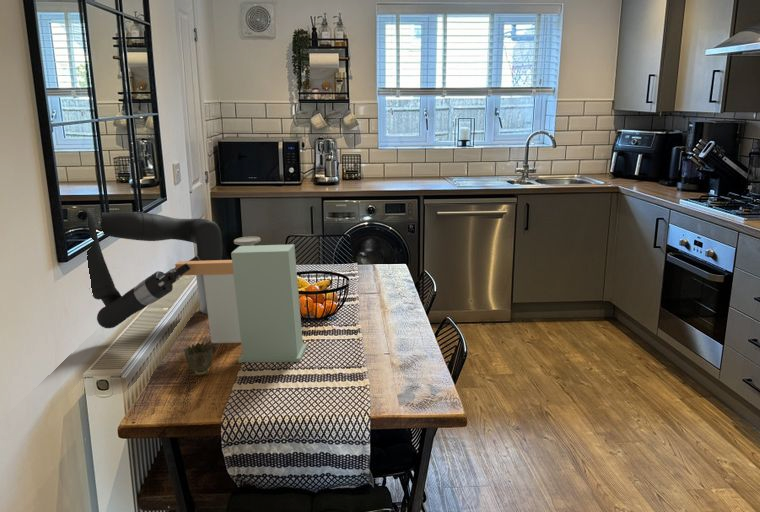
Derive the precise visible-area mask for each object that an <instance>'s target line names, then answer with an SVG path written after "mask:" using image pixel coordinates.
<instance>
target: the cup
mask: <svg viewBox="0 0 760 512" xmlns="http://www.w3.org/2000/svg"><path fill="white" fill-rule="evenodd" d="M183 351H184V355H185V359H186V362H187V366H188V367H189V369H190V370H191V371H193V372H194V375H195V376H196V377H204V376H206V375H208V374H209V369H210V368H211V366H212V364H213V343H207V344H206V345H205V344H204V343H203V342H201V343H200V342H197V343H196V344H193V343H192V345H191V346H190V345H187V347H185V348H184V350H183Z"/></svg>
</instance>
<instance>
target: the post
mask: <svg viewBox="0 0 760 512" xmlns="http://www.w3.org/2000/svg"><path fill="white" fill-rule="evenodd" d="M203 278H204V286H205V294H206V303H207V311H208V314H207V317H208V318H207V319H208V325H209V332H210V333H209V334H210V341H211V343H210V344H241V337H240V328H239V319H238V310H237V301H236V292H235V283H234V274H211V275H203Z"/></svg>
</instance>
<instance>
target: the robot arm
mask: <svg viewBox="0 0 760 512" xmlns="http://www.w3.org/2000/svg"><path fill="white" fill-rule="evenodd" d="M91 211H92V210H91V209H89V210H88V215H87V216H88V228H89V234H90V237H91V238H92V239H93V240H94V244H93V246H92V247H91V248H90V249H89V250H88V251H87V255H88V256H87V260H88V268H89V274H90V279H91V288H92V293H93V295H92V297H93V298H94V299H95V300H99V301H100V300H101V302H102V303H103V305H104V306H103V307H102V308H101V309H100V310H99V311H98V313H97V316H96V321H97V323H98V325H99V326H100V327H101V328H104V329H114V328H116V327H117V326H119V325H121V323H123V322H125V321H126V320H127V319H128V318H129V317H132V316H133V315H134V314H136V313H138V312H140V311H142V310H144V309H146V307H148V306H150V305H151V304H154V303H155V302H157V301H159V300H160V299H162V298H163V297H165V296H167V295H168V294H170V293H172V291H173V289H174V287H173V285H174V284H175V283H176V282H177V281H179V280H180V278H182V277H183V276H184V275H182V274H184V273H185V272H187V271H188V270H190V269H191V268H190V266H189V265H188V264H187V263H186V264H184V265H182V266H181V267H179V268H178V269H176V267H175V266H174V268H171V269H170V270H168V271H166V272H165V273H164V272H163V271H160V270H159V271H156V272H154V273H153V274H151V275H149V276H148V277H146V278H145V279H144V280H141V282H139V283H138V284H136V285H135V286H134V287H133V288H130V290H127V291H126V293H124V294H123V295H121V293H120V291H119V290H118V289H117V288H116V286H115V283H114V280H113V278H112V275H111V273H110V271H109V268H108V266H107V263H106V260H105V258H104V255H103V252H102V249H101V246H100V242H99V237H98V235H97V232H96V227H95V223H94V218H93V215H92V212H91ZM101 218H102V220H101V221H102V222H101V227H102V231H103V232H104V234H105V235H106V236H107V237H111V238H112V237H113V238H118V239H124V240H131V241H133V240H134V241H140V242H141V241H143V242H159V241H167V240H176V241H177V240H178V241H183V242H188V243H193V244H195V245H196V252H197V253H196V256H194V257H193V258H191V259H189V260H188V261H210V260H222V256H223V242H222V241H223V240H222V232H221V229H220V227H219V225H218V224H217V223H216V222H215V221H213V220H209V219H205V218H177V217H176V218H175V217H170V216H166V215H161V214H156V213H150V212H149V213H148V212H141V211H117V212H116V211H115V212H102V216H101ZM105 235H104V236H105ZM195 277H196V278H195V279H196V285H197V292H198V293H197V294H198V301H199V309H200V313H201V312H202V313H201V314H207V315H208V311H207V303H206V294H205V286H204V278H203V275H195ZM92 293H91V294H92Z"/></svg>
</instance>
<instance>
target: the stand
mask: <svg viewBox="0 0 760 512" xmlns="http://www.w3.org/2000/svg"><path fill="white" fill-rule="evenodd" d="M295 247H296V246H295V244H294V243H293V244H292V243H291V244H290V243H289V244H265V245H263V244H262V245H261V244H260V245H259V244H258V245H254V246H241V245H239V246H237V247H236V248H235V249H234V250H233V251H232V252H231V253H230V256H231V260H232V265H233V274H234V283H235V292H236V301H237V310H238V319H239V328H240V337H241V343H240V344H241V352H242V353H241V355H240V356H239V357H238V358H237V363H238V364H239V363H242V362H250V363H288V362H289V363H298V362H301V361H302V359H303V357H304V354H305V352H306V350H307V348H308V343H303V341H304V339H303V331H302V330H303V329H302V319H301V308H300V294H299V284H298V283H299V282H298V274H297V273H298V272H297V259H296V250H295V249H296V248H295ZM242 364H243V363H242Z"/></svg>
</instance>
